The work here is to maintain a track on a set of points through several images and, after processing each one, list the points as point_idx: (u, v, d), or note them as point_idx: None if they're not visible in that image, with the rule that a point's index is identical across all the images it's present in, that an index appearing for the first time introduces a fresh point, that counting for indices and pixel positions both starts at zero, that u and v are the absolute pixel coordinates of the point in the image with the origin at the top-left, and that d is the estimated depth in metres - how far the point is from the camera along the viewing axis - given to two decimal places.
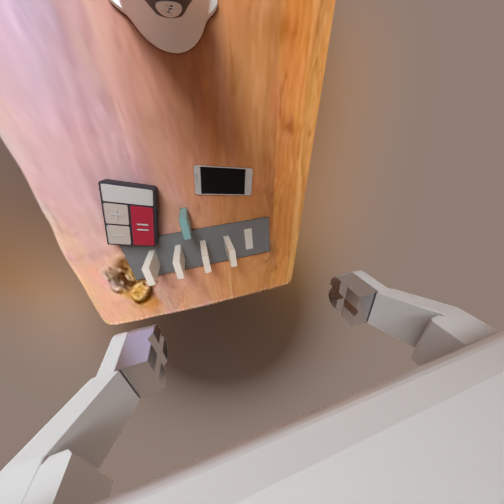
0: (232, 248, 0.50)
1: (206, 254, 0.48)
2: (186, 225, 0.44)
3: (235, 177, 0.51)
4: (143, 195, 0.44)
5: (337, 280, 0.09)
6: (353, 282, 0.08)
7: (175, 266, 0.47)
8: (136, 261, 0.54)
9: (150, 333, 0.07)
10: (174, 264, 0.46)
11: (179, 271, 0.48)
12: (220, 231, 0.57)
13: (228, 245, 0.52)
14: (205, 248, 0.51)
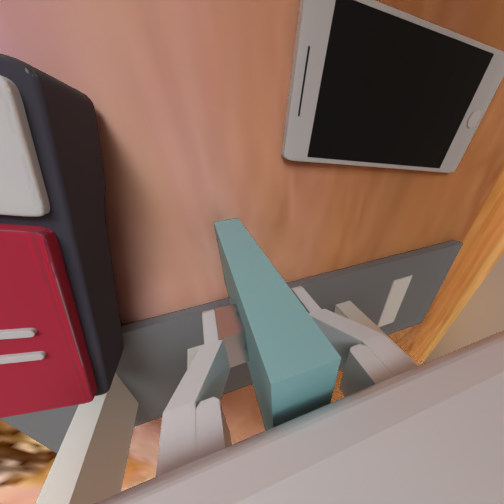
0: None
1: None
2: (321, 399, 0.05)
3: (445, 91, 0.12)
4: None
5: None
6: None
7: None
8: (45, 415, 0.14)
9: (236, 310, 0.08)
10: None
11: None
12: (333, 292, 0.17)
13: None
14: None
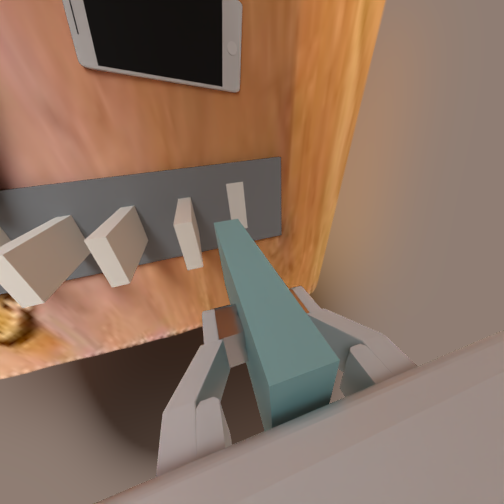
0: (186, 218, 0.18)
1: (104, 233, 0.16)
2: (320, 401, 0.05)
3: (193, 24, 0.19)
4: None
5: None
6: None
7: None
8: None
9: (236, 310, 0.08)
10: None
11: (18, 287, 0.16)
12: (169, 185, 0.24)
13: (179, 212, 0.20)
14: (117, 220, 0.19)
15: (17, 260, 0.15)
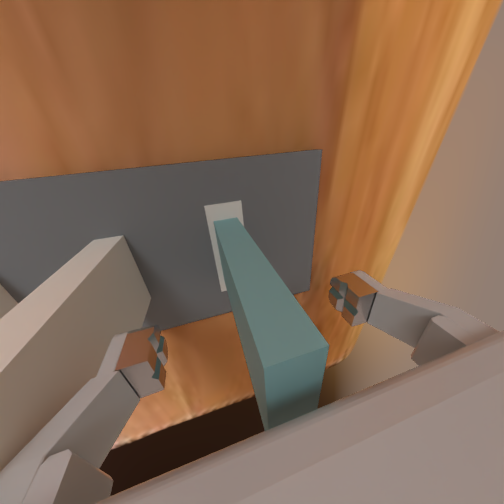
0: None
1: None
2: (312, 386, 0.05)
3: None
4: None
5: (337, 280, 0.09)
6: (353, 282, 0.08)
7: None
8: None
9: (150, 333, 0.07)
10: None
11: None
12: (66, 212, 0.10)
13: (1, 330, 0.05)
14: None
15: None
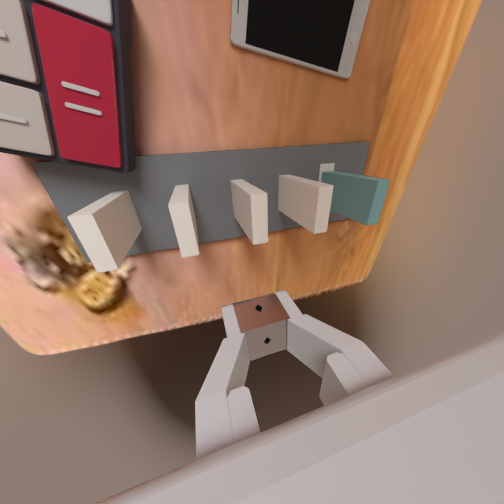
0: (322, 184, 0.20)
1: (261, 192, 0.18)
2: (384, 194, 0.21)
3: (329, 13, 0.21)
4: None
5: (255, 302, 0.08)
6: (269, 305, 0.08)
7: (177, 218, 0.16)
8: None
9: (255, 305, 0.08)
10: (173, 210, 0.16)
11: (186, 236, 0.17)
12: (275, 162, 0.26)
13: (305, 181, 0.21)
14: (250, 186, 0.21)
15: (190, 210, 0.17)
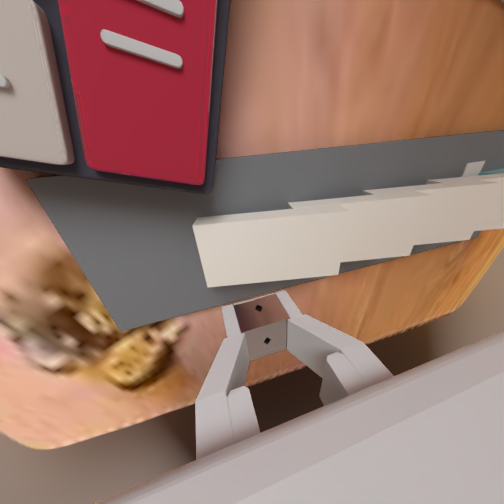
0: None
1: (473, 181, 0.16)
2: None
3: None
4: None
5: (255, 302, 0.08)
6: (269, 305, 0.08)
7: None
8: (117, 267, 0.13)
9: (255, 305, 0.08)
10: None
11: None
12: (411, 162, 0.16)
13: None
14: (432, 184, 0.16)
15: None
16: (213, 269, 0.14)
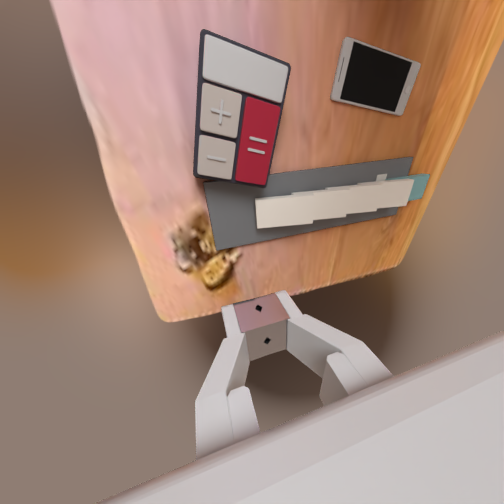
0: (404, 179, 0.37)
1: (374, 183, 0.36)
2: None
3: (393, 76, 0.31)
4: (272, 75, 0.23)
5: (255, 302, 0.08)
6: (269, 305, 0.08)
7: None
8: (222, 218, 0.33)
9: (254, 305, 0.08)
10: None
11: None
12: (347, 175, 0.36)
13: (395, 180, 0.36)
14: (356, 185, 0.36)
15: None
16: (260, 219, 0.33)
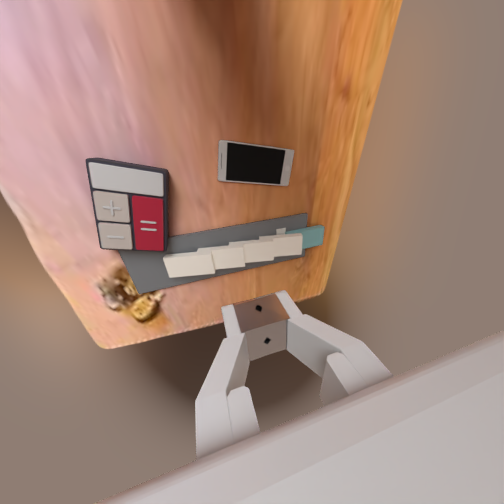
0: (296, 234, 0.45)
1: (269, 239, 0.44)
2: None
3: (271, 160, 0.39)
4: (150, 180, 0.31)
5: (255, 302, 0.08)
6: (269, 305, 0.08)
7: (243, 251, 0.42)
8: (139, 270, 0.41)
9: (255, 305, 0.08)
10: None
11: None
12: (247, 231, 0.44)
13: (287, 236, 0.44)
14: (254, 240, 0.43)
15: None
16: (170, 271, 0.41)
